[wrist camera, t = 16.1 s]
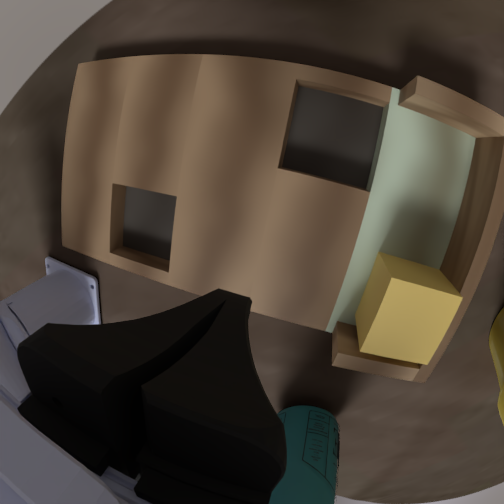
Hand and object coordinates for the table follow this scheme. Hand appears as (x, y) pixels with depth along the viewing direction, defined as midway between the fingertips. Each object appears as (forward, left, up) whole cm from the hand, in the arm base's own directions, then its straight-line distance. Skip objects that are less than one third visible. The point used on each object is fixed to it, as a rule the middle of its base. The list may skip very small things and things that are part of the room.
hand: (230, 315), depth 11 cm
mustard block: (-1, -9, -8) cm, 12 cm away
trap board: (+3, +3, -10) cm, 11 cm away
